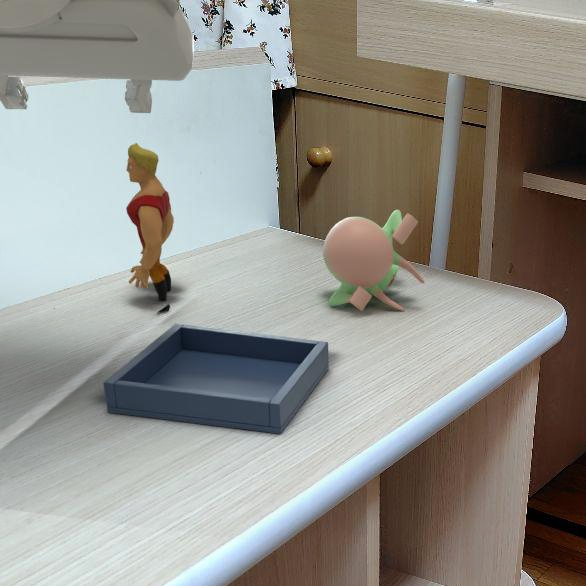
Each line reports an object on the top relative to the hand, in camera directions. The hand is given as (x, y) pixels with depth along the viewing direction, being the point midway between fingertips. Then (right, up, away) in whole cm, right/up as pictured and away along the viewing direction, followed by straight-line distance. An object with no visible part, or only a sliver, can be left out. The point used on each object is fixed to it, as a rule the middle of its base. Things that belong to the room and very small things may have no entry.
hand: (80, 104), depth 78 cm
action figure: (-1, -12, +19) cm, 22 cm away
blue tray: (+10, -22, +4) cm, 24 cm away
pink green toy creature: (+18, -9, +26) cm, 33 cm away
